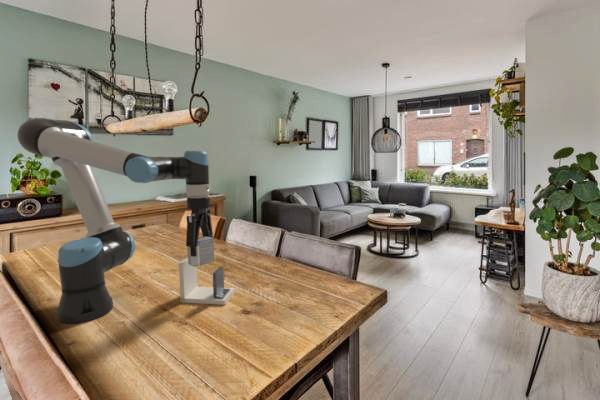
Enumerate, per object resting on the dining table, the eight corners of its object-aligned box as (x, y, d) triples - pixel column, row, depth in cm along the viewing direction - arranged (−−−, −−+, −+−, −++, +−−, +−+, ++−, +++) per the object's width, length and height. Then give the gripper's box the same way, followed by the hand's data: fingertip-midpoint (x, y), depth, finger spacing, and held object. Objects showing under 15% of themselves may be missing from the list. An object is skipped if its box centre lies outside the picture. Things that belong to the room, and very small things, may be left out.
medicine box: (207, 259, 117) (206, 235, 116) (214, 261, 114) (213, 237, 113) (187, 264, 111) (186, 240, 110) (195, 267, 108) (193, 242, 107)
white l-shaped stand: (180, 302, 112) (178, 263, 110) (194, 289, 122) (192, 254, 120) (225, 304, 110) (223, 265, 108) (234, 292, 120) (233, 255, 118)
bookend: (213, 298, 111) (212, 273, 110) (221, 290, 118) (220, 266, 117) (223, 298, 111) (222, 273, 110) (229, 290, 118) (229, 266, 117)
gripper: (194, 200, 99) (198, 271, 102) (220, 193, 120) (222, 251, 123) (171, 200, 100) (175, 270, 103) (201, 193, 121) (203, 251, 124)
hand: (201, 260), depth 113 cm, fingers closed on medicine box, 9 cm apart
